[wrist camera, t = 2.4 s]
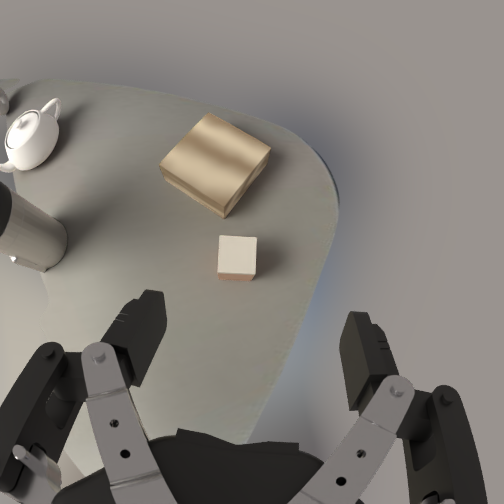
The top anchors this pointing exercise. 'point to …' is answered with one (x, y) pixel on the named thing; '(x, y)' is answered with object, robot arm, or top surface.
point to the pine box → (215, 164)
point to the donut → (3, 103)
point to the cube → (237, 258)
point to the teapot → (31, 138)
